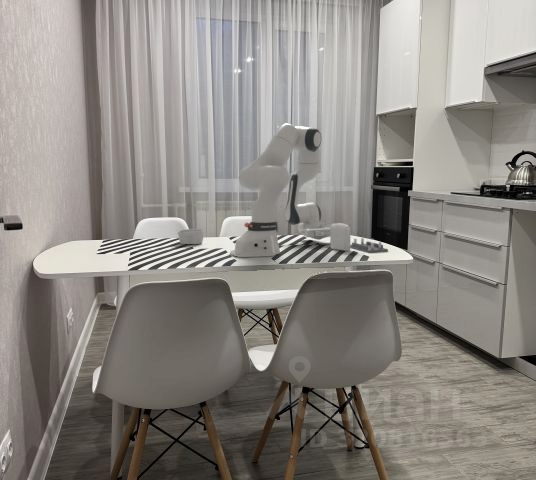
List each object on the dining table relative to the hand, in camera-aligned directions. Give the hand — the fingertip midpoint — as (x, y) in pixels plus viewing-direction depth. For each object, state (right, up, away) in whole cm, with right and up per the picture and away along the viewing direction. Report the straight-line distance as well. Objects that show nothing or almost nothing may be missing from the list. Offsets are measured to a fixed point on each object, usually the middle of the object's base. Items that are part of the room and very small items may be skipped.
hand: (331, 233), depth 225 cm
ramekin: (-70, -5, +17) cm, 72 cm away
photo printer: (+3, -8, -7) cm, 11 cm away
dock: (+16, -7, -6) cm, 18 cm away
